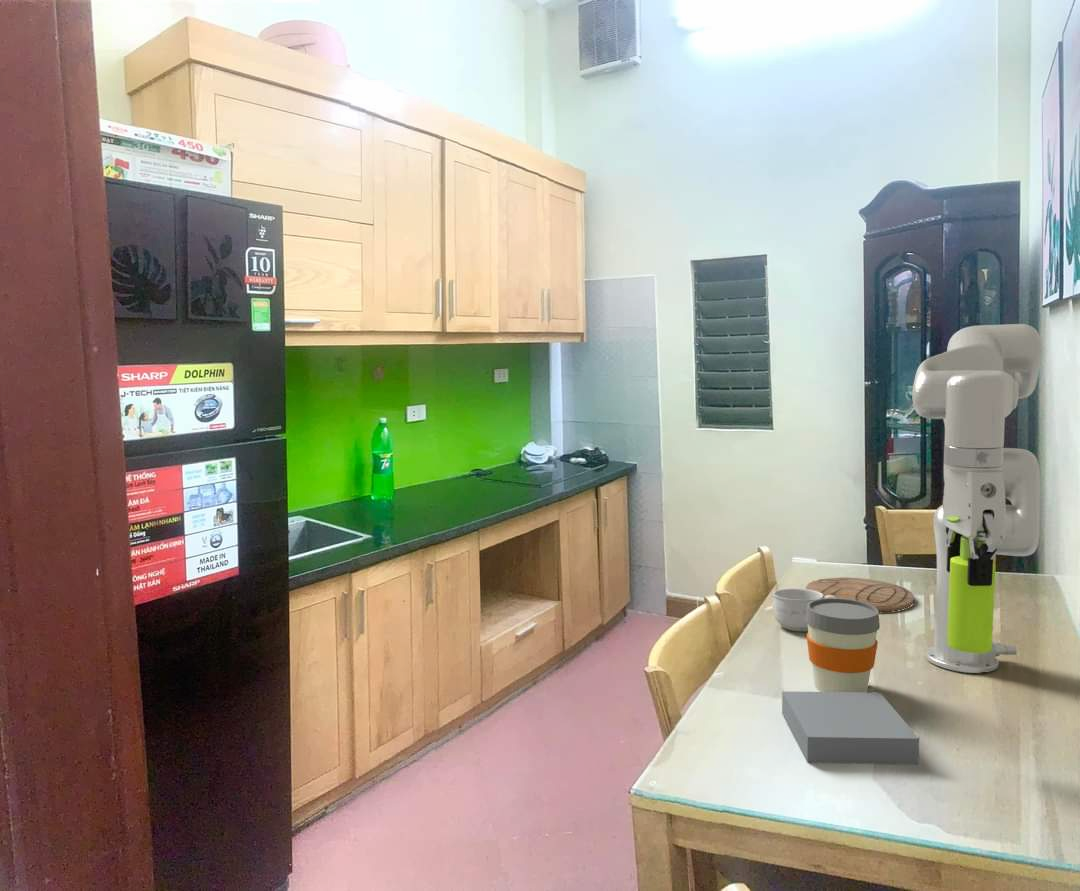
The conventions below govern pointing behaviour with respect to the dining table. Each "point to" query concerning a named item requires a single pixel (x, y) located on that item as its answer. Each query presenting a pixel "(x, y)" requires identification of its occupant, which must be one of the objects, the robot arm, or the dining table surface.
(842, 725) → the stand
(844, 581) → the trivet
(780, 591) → the teacup
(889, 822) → the dining table surface
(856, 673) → the reusable coffee cup
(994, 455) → the robot arm
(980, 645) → the soap dispenser
